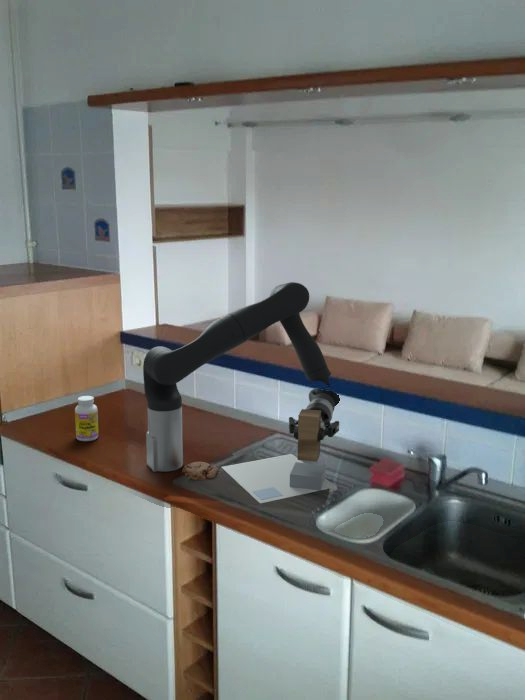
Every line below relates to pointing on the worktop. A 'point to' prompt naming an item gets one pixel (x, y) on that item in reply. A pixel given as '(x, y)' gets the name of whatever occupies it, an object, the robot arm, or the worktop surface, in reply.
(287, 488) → the base board
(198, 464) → the cookie
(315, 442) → the walnut pillar
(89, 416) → the supplement bottle
